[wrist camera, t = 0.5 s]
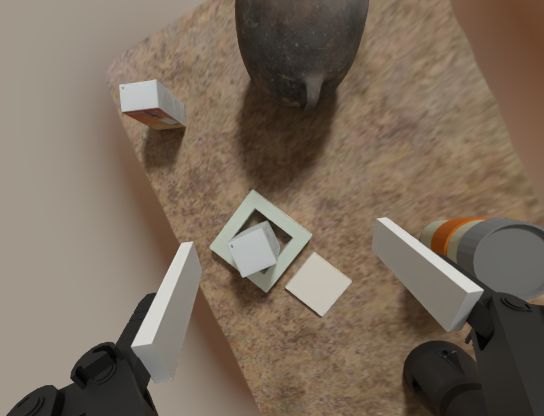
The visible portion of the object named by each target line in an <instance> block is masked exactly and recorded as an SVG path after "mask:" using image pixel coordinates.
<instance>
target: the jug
mask: <svg viewBox="0 0 544 416" xmlns="http://www.w3.org/2000/svg"><path fill="white" fill-rule="evenodd" d="M368 5H369V0H235V20H236V31H237V38H238V44H239V49H240V52H241V56H242V59H243V62H244V64H245V67H246V69H247V72H248V74H249V76H250V78H251V79H252V81H253V83H254V84H255V86H256V87H257V88H258V90H259V91H260V92H261V93H262V94H263V95H264V96H266V97H267V98H268V99H269V100H271V101H273V102H275V103H278V104H281V105H284V106H294V107H296V106H301V107H302V109H304V110H312V109H314V108H315V107H316V105H317V103H318V101H321V100H323V99H324V98H326V97H327V96H328V95H330V94H331V93H332V92H333V91H334V90H335V89H336V88H337V87H338V85H339V84H340V83H341V82H342V80H343V79H344V78H345V76H346V75H347V73H348V71H349V70H350V68H351V66H352V63H353V61H354V59H355V56H356V54H357V51H358V48H359V45H360V41H361V38H362V34H363V31H364V27H365V22H366V18H367V12H368Z"/></svg>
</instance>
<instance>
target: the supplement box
mask: <svg viewBox="0 0 544 416" xmlns="http://www.w3.org/2000/svg"><path fill="white" fill-rule="evenodd" d="M226 244H227V246H228V248H229V250H230V252H231V254H232V256H233V259H234V261H235V263H236V265H237V267H238V269H239V271H240V274H241V276H242V278H244V277H246V276H249V275H251V274H253V273H256V272H258V271H260V270H263V269H265V268H267V267H270V266H272V265H274V264H277V261H278V256H279V251H280V245H279V243H278V240H277V238H276V236H275V234H274V232H273V230H272V228H271V225H270V223H269V221H268V220H266V221H264V222H262V223H259V224H257V225H255V226H253V227H251V228H249V229H246V230H244V231H242V232H241V233H240V234H238V235H237V236H235V237H234V238H232V239H231V240H230V241H228V242H227V243H226Z"/></svg>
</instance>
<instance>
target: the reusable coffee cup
mask: <svg viewBox="0 0 544 416" xmlns="http://www.w3.org/2000/svg"><path fill="white" fill-rule="evenodd" d="M420 243H422V244H423V245H424V246H426V247H427V248H428V249H430V250H431V251H432V252H434V253H436V252H437V253H439V254H441V255H444V256H446V257H448V258H449V259H451V260H452V261H453V262H455V263H456V264H457V265H459V266H460V267H462V268H463V269H464V270H465V271H467V272H469V273H470V274H471V275H473V276H474V277H476V278H477V279H478V280H480V281H481V282H483V283H484V284H485V285H487V286H488V287H490V288H491V289H492V290H494V291H495V292H503V293H508V294H511V295H514V296H517V297H519V298H520V299H522V300H529V299H533V298H536V297H538V296H540V295H542V294H544V228H543V227H541V226H539V225H536V224H534V223H529V222H524V221H519V220H514V219H508V218H492V219H490V218H457V219H452V220H441V221H435V222H432V223H430V224H429V225H427V226H426V227H425V228H424V230H423V231H422V233H421V236H420Z"/></svg>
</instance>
